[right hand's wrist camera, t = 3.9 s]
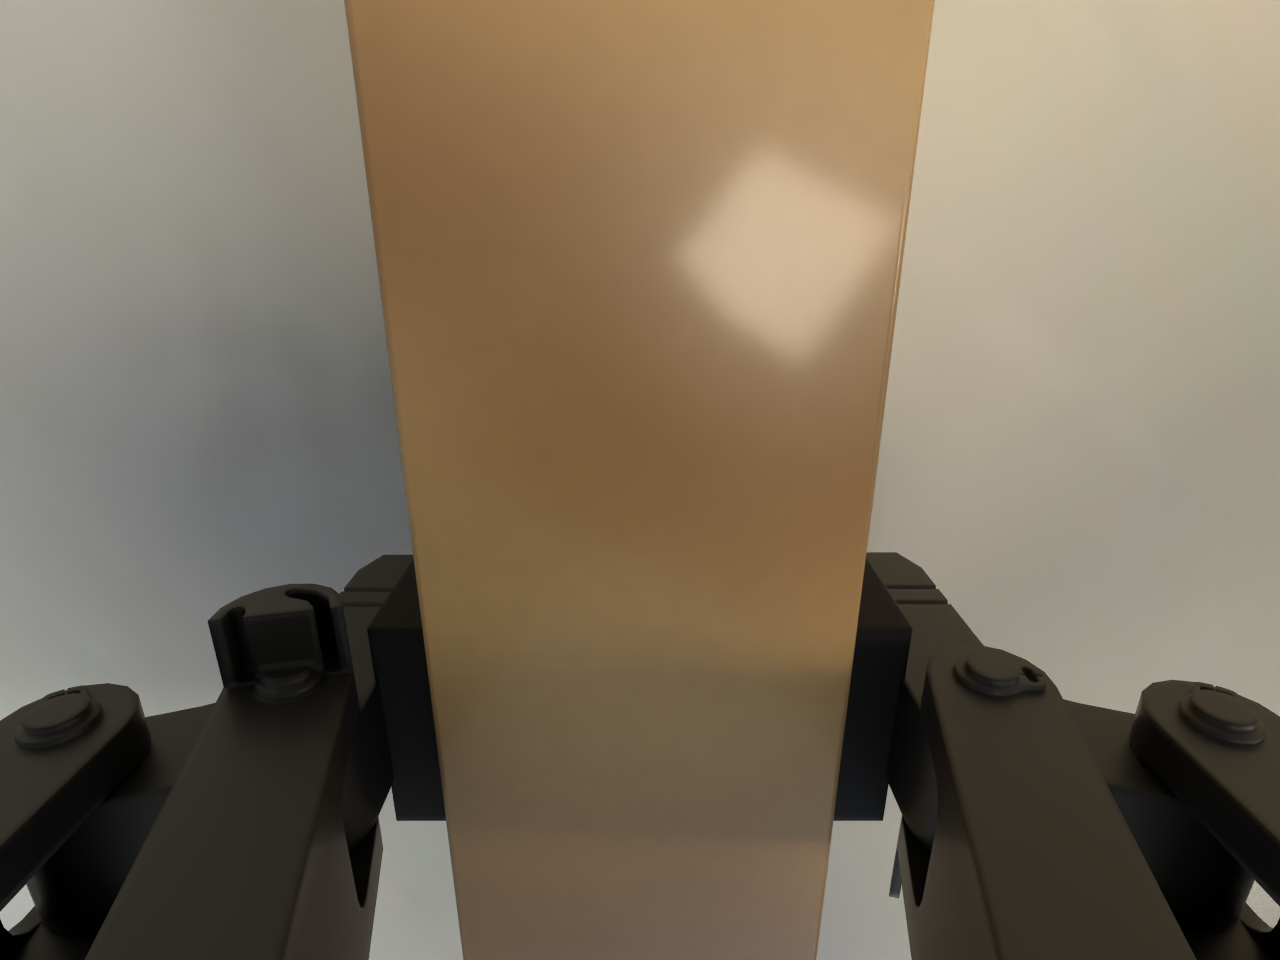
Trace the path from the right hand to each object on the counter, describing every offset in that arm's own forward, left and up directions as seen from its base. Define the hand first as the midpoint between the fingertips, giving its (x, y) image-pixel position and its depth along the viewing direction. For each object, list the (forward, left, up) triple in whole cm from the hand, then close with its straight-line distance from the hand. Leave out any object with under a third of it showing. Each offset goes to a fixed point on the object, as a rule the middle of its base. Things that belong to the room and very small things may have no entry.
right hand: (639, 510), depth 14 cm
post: (+4, -34, -1) cm, 34 cm away
